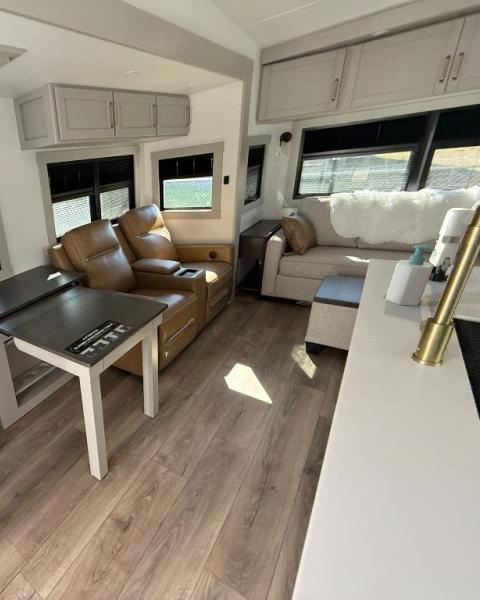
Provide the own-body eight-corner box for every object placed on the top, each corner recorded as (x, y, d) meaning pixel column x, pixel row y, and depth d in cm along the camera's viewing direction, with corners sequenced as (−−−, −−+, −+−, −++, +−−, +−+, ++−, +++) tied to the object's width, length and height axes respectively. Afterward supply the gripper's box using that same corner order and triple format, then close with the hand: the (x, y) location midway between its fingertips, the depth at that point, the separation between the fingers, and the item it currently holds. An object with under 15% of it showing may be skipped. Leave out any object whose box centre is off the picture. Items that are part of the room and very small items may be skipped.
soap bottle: (415, 308, 118) (437, 251, 109) (383, 301, 125) (401, 247, 116) (421, 300, 123) (442, 245, 115) (389, 294, 130) (407, 241, 122)
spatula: (401, 279, 143) (404, 273, 141) (399, 275, 147) (401, 269, 146) (458, 284, 133) (461, 278, 132) (454, 280, 138) (456, 273, 136)
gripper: (432, 234, 140) (417, 273, 147) (443, 243, 127) (427, 285, 135) (456, 235, 136) (441, 275, 143) (471, 244, 123) (453, 287, 131)
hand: (434, 279), depth 139 cm, fingers open, 4 cm apart
